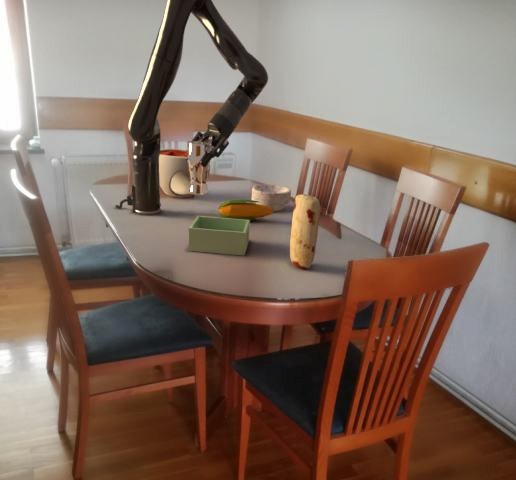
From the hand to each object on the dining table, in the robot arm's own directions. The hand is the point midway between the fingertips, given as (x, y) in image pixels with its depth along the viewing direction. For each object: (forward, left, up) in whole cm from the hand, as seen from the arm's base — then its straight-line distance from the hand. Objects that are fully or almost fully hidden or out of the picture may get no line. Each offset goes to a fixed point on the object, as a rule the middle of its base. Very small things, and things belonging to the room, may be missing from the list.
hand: (194, 162), depth 161 cm
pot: (-15, +50, -22) cm, 57 cm away
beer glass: (+1, +1, -9) cm, 10 cm away
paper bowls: (+23, +40, -22) cm, 51 cm away
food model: (+35, -25, -22) cm, 48 cm away
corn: (+15, +20, -22) cm, 34 cm away
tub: (+10, -12, -22) cm, 27 cm away
